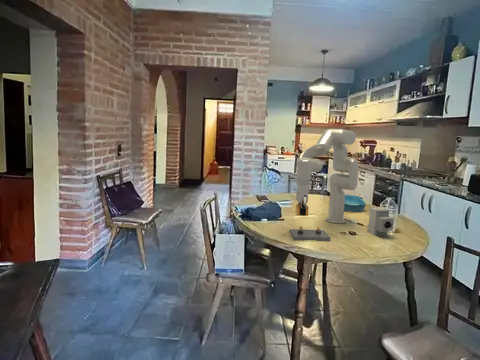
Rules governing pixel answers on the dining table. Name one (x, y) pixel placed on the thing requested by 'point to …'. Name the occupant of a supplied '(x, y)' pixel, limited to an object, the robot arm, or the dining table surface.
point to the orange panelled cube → (297, 210)
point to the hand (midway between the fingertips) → (301, 213)
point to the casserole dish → (353, 203)
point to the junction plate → (309, 234)
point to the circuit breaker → (379, 221)
